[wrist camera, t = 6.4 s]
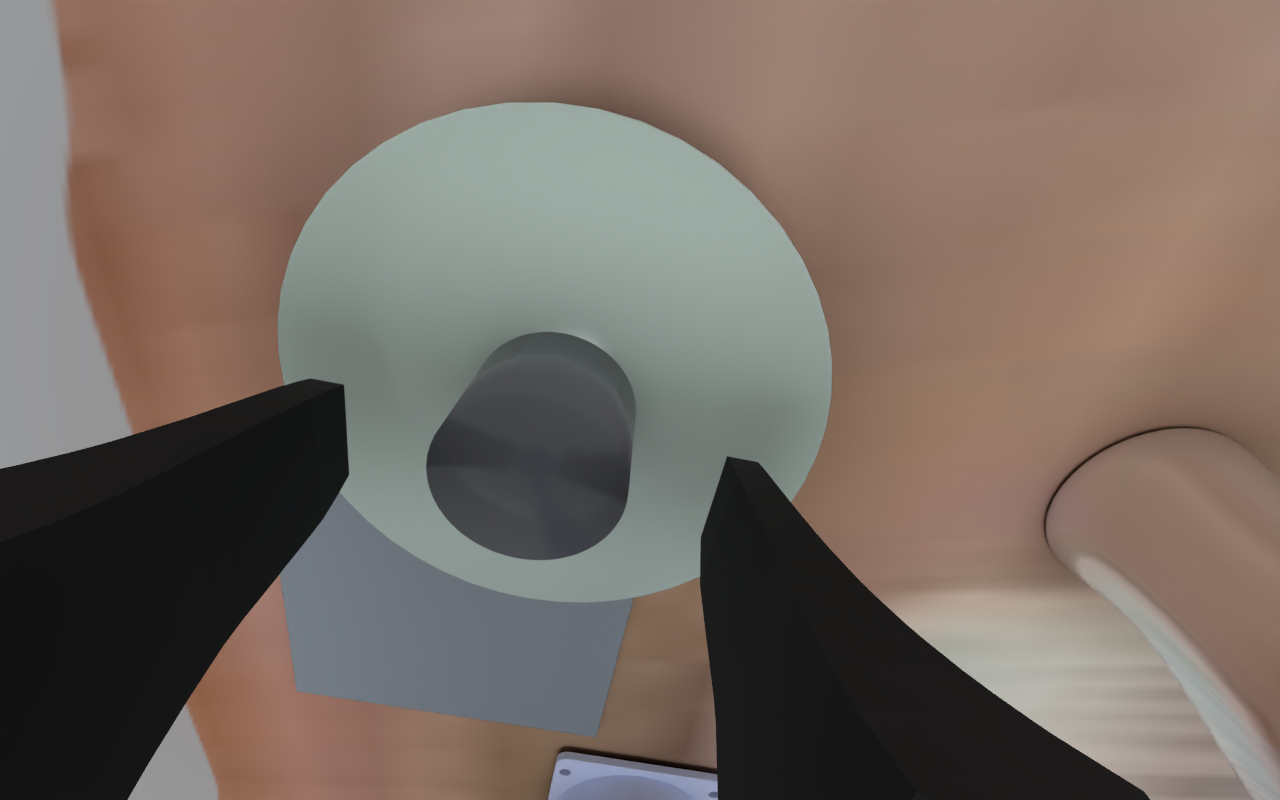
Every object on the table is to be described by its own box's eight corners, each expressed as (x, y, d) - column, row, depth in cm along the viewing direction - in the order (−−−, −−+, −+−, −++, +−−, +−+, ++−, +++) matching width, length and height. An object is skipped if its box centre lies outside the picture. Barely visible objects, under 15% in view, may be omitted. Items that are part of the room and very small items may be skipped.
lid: (740, 617, 16) (757, 734, 13) (315, 544, 16) (231, 651, 13) (916, 178, 11) (1015, 210, 8) (263, 34, 10) (90, 8, 7)
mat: (596, 730, 25) (596, 737, 25) (300, 684, 25) (296, 691, 24) (657, 505, 19) (657, 510, 19) (266, 434, 19) (260, 439, 18)
